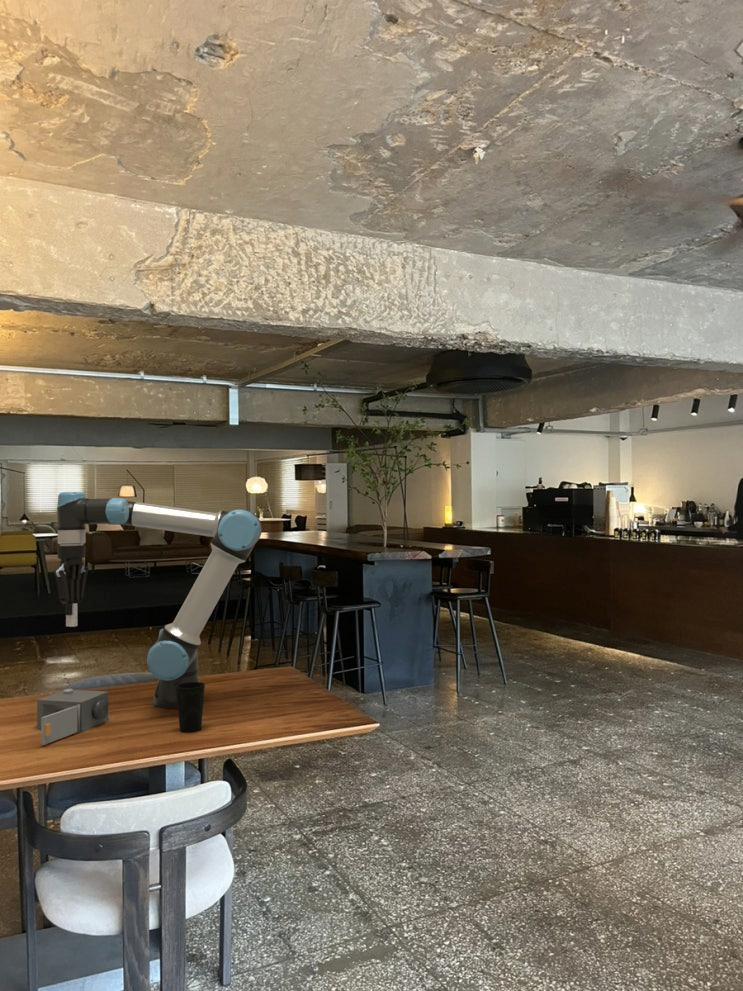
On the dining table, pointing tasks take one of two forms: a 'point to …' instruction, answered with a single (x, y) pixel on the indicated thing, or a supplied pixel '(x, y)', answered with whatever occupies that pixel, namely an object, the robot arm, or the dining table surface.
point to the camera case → (88, 706)
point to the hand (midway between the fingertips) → (71, 626)
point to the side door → (58, 725)
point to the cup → (190, 705)
